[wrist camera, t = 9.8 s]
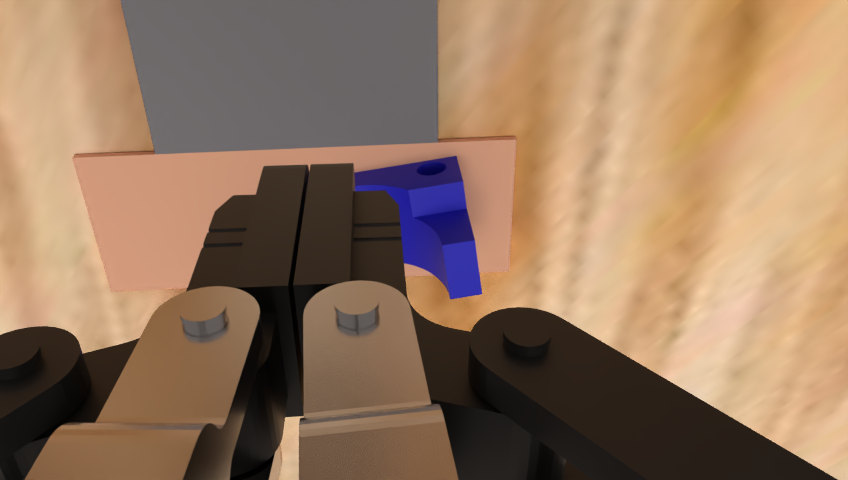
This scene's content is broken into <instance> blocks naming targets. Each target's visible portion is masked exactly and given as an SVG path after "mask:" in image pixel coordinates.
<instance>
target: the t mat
mask: <svg viewBox="0 0 848 480" xmlns="http://www.w3.org/2000/svg"><path fill="white" fill-rule="evenodd" d="M121 4H122V9H123V13H124V18H125V22H126V27H127V31H128V35H129V40H130V44H131V49H132V53H133V58H134V62H135V66H136V71H137V75H138V80H139V84H140V89H141V93H142V97H143V102H144V106H145V111H146V115H147V120H148V124H149V128H150V133H151V137H152V142H153V146H154V151H148V152H124V153H99V154H75V155H74V157H73V162H74V165H75V168H76V172H77V175H78V179H79V182H80V186H81V189H82V192H83V196H84V199H85V203H86V206H87V210H88V213H89V216H90V220H91V223H92V227H93V230H94V234H95V237H96V241H97V244H98V247H99V251H100V254H101V258H102V261H103V265H104V268H105V271H106V275H107V278H108V282H109V285H110V289H111V292H118V291H138V290H157V289H176V288H188V285H189V282H190V279H191V277H192V274H193V271H194V268H195V265H196V263H197V260H198V257H199V254H200V251H201V249H202V248H203V243H204V240H205V237H206V235H207V233H209V230H208V229H209V226H210V223H211V221H212V218H213V215H214V212H215V211H216V210H217V209H218V208H219V207H220V206H221V205H223V204H224V203H225V202H226V201H227V200H228V199H229V198H231V197H232V196H233V195H256V192H257V188H258V184H259V181H260V177H261V173H262V169H263V167H264V166H275V165H308V167H309V171H310V165H311V164H338V163H353V164H354V173H355V172H361V171H367V170H373V169H379V168H385V167H391V166H398V165H404V164H410V163H416V162H422V161H428V160H434V159H440V158H446V157H452V156H457V160H458V164H459V167H460V171H461V175H462V178H463V183H464V191H465V198H466V206H467V211H468V215H469V219H470V223H471V227H472V230H473V234H474V238H475V244H476V252H477V259H478V267H479V273H487V272H506V271H509V263H510V245H511V227H512V209H513V191H514V173H515V156H516V137H515V136H512V137H487V138H463V139H439V140H438V65H437V0H121ZM404 269H405V277H409V276H428V275H433V274H432V273H430V272H428V271H426V270H424V269H422V268H419V267H416V266H413V265H409V264H405V263H404Z"/></svg>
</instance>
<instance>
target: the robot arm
mask: <svg viewBox="0 0 848 480" xmlns="http://www.w3.org/2000/svg"><path fill="white" fill-rule="evenodd" d="M208 230H209V233H207V235H206V237H205V240H204V243H203V248H202V249H201V251H200V254H199V257H198V260H197V263H196V265H195V268H194V271H193V274H192V277H191V279H190V282H189V285H188V288H187V291H186V292H184V293H181V294H179V295H177V296H175V297H173V298H171V299H169V300H168V301H166V302H165V303H164V304H162V305H161V306H160V307H159V308H158V309H157V310H156V311H155V312H154V313H153V315H152V316H151V318H150V320H149V322H148V324H147V326H146V328H145V329H144V331H143V333H142V335H141V337H140V338H138V339H136V340H133V341H130V342H127V343H123V344H120V345H116V346H112V347H108V348H104V349H100V350H96V351H92V352H88V353H84V354H82V351H81V348H80V345H79V342H78V340H77V339H76V337H75V336H74V335H73V334H71V333H70V332H68V331H66V330H64V329H60V328H56V327H47V326H42V327H29V328H23V329H18V330H14V331H11V332H7V333H4V334H2V335H0V480H278V479H279V475H280V470H281V465H282V452H281V446H280V443H281V440H282V436H283V429H284V421H285V417H295V416H304V418H300V423H299V480H837V479H835V478H834V477H832V476H830V475H829V474H827V473H825V472H824V471H822V470H820V469H818V468H817V467H815V466H813V465H812V464H810V463H808V462H806V461H805V460H803V459H801V458H800V457H798V456H796V455H794V454H793V453H791V452H789V451H788V450H786V449H784V448H782V447H781V446H779V445H777V444H776V443H774V442H772V441H771V440H769V439H767V438H765V437H764V436H762V435H760V434H759V433H757V432H755V431H753V430H752V429H750V428H748V427H747V426H745V425H743V424H741V423H740V422H738V421H736V420H735V419H733V418H731V417H730V416H728V415H726V414H724V413H723V412H721V411H719V410H718V409H716V408H714V407H712V406H711V405H709V404H707V403H706V402H704V401H702V400H700V399H699V398H697V397H695V396H694V395H692V394H690V393H688V392H687V391H685V390H683V389H682V388H680V387H678V386H677V385H675V384H673V383H671V382H670V381H668V380H666V379H665V378H663V377H661V376H659V375H658V374H656V373H654V372H653V371H651V370H649V369H647V368H646V367H644V366H642V365H641V364H639V363H637V362H636V361H634V360H632V359H630V358H629V357H627V356H625V355H624V354H622V353H620V352H618V351H617V350H615V349H613V348H612V347H610V346H608V345H606V344H605V343H603V342H601V341H600V340H598V339H596V338H595V337H593V336H591V335H589V334H588V333H586V332H584V331H583V330H581V329H579V328H577V327H576V326H574V325H572V324H571V323H569V322H567V321H565V320H564V319H562V318H560V317H558V316H556V315H554V314H552V313H549V312H546V311H542V310H538V309H533V308H521V307H516V308H507V309H501V310H498V311H495V312H492V313H490V314H488V315H486V316H484V317H483V318H481V319H480V320H479V321H478V322H477V323H476V324H475V325H474V327H473V329H472V330H471V332H469V331H463V330H458V329H452V328H448V327H444V326H441V325H438V324H435V323H433V322H431V321H429V320H427V319H426V318H424V317H423V316H421V315H420V314H419V313H417V312H416V311H415V310H414V308H413V307H412V306H411V305H410V302H409V300H408V298H407V292H406V281H405V269H404V258H403V246H402V235H401V225H400V212H399V205H398V203H397V202H396V201H395V200H394V199H393V198H392V197H391V196H390V195H389V194H388V193H387V192H386V191H385V190H377V191H355V174H354V164H353V163H338V164H311V165H310V171H309V167H308V165H275V166H264V167H263V169H262V173H261V177H260V181H259V184H258V188H257V192H256V195H233V196H232V197H231V198H229V199H228V200H227V201H226V202H225V203H224V204H223V205H221V206H220V207H219V208H218V209H217V210H216V211H215V212H214V215H213V218H212V221H211V223H210V226H209V229H208Z"/></svg>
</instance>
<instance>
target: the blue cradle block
mask: <svg viewBox="0 0 848 480" xmlns="http://www.w3.org/2000/svg"><path fill="white" fill-rule="evenodd" d="M354 174H355V191H377V190H385V191H386V192H387V193H388V194H389V195H390V196H391V197H392V198H393V199H394V200H395V201H396V202H397V203H398V205H399V212H400V225H401V235H402V246H403V258H404V263H405V264H409V265H413V266H416V267H419V268H422V269H424V270H426V271H428V272H430V273H432V274H433V275H435V276H436V277H437V278H438V279H439V280H440V281H441V282H442V283H443V284H444V285H445V287H446V288H447V290H448V292H449V295H450V299H455V298H461V297H467V296H473V295H480V294H482V290H481V283H480V275H479V267H478V259H477V252H476V244H475V238H474V234H473V230H472V227H471V223H470V219H469V215H468V211H467V206H466V198H465V191H464V183H463V178H462V175H461V171H460V167H459V164H458V160H457V156H452V157H446V158H440V159H434V160H428V161H422V162H416V163H410V164H404V165H398V166H391V167H385V168H379V169H373V170H367V171H361V172H355V173H354Z"/></svg>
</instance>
